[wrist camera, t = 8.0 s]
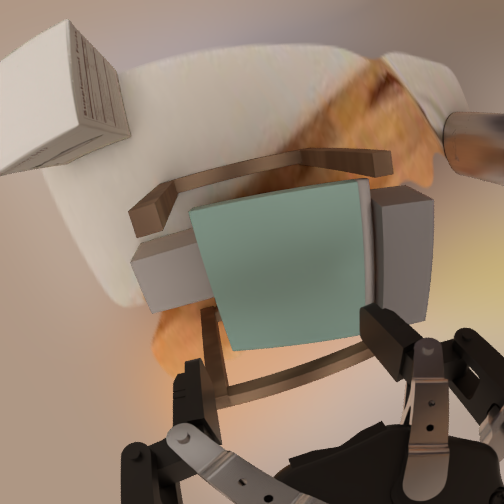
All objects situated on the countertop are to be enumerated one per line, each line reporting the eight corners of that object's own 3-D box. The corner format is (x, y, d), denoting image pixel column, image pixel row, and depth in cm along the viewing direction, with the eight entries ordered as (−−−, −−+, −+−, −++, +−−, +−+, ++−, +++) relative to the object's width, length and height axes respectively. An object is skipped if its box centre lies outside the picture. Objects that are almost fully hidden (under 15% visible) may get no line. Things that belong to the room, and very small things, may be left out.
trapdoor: (404, 168, 17) (432, 178, 13) (404, 302, 22) (422, 333, 18) (201, 200, 20) (181, 218, 16) (238, 328, 24) (230, 363, 20)
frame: (309, 147, 25) (390, 150, 14) (328, 282, 31) (390, 348, 20) (159, 183, 24) (128, 211, 12) (204, 320, 30) (214, 410, 18)
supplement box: (66, 166, 21) (-16, 183, 10) (53, 98, 18) (-26, 77, 7) (133, 138, 22) (79, 128, 10) (119, 68, 19) (67, 13, 8)
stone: (200, 241, 22) (130, 262, 21) (217, 296, 23) (152, 313, 23) (199, 225, 26) (140, 242, 26) (213, 272, 28) (157, 287, 27)
